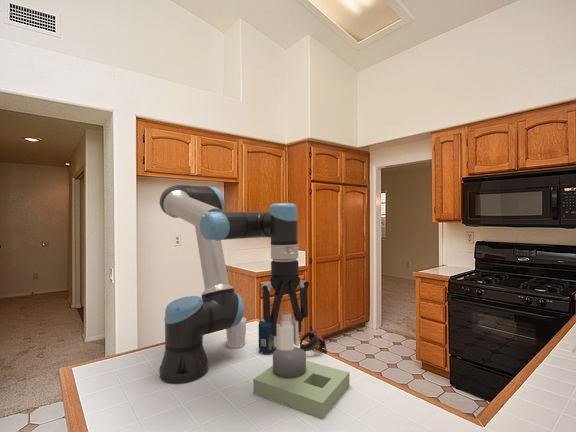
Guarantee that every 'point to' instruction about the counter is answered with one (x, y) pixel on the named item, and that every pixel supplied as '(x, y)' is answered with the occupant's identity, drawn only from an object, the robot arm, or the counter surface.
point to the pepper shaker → (286, 331)
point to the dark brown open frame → (312, 341)
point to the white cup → (236, 335)
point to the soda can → (265, 338)
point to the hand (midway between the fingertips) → (286, 345)
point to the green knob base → (301, 383)
